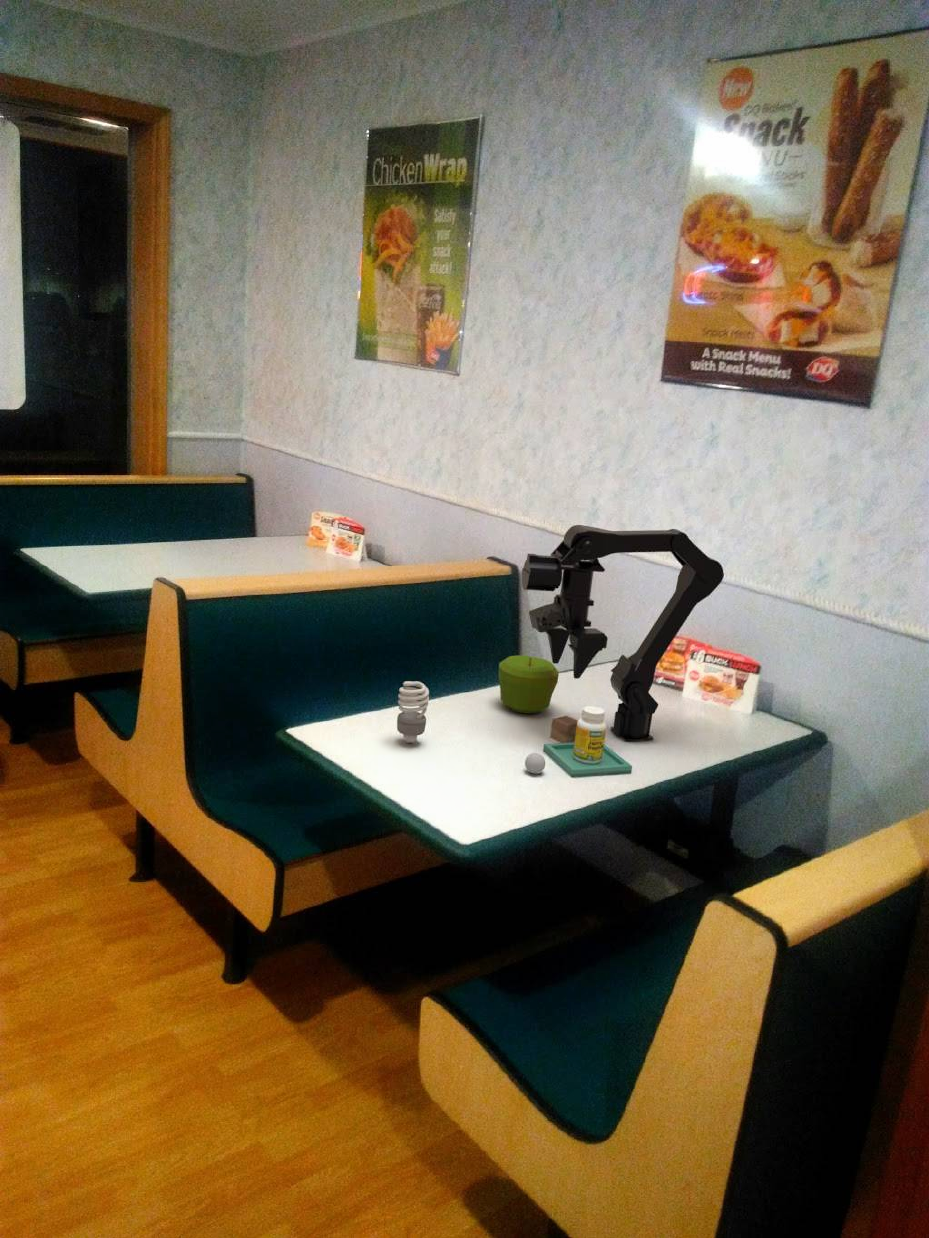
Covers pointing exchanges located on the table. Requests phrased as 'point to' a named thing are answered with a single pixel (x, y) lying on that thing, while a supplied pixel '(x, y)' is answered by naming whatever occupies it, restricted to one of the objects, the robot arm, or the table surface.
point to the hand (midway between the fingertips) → (565, 670)
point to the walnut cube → (563, 729)
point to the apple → (527, 683)
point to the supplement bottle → (590, 736)
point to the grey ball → (535, 763)
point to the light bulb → (412, 710)
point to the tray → (574, 768)
